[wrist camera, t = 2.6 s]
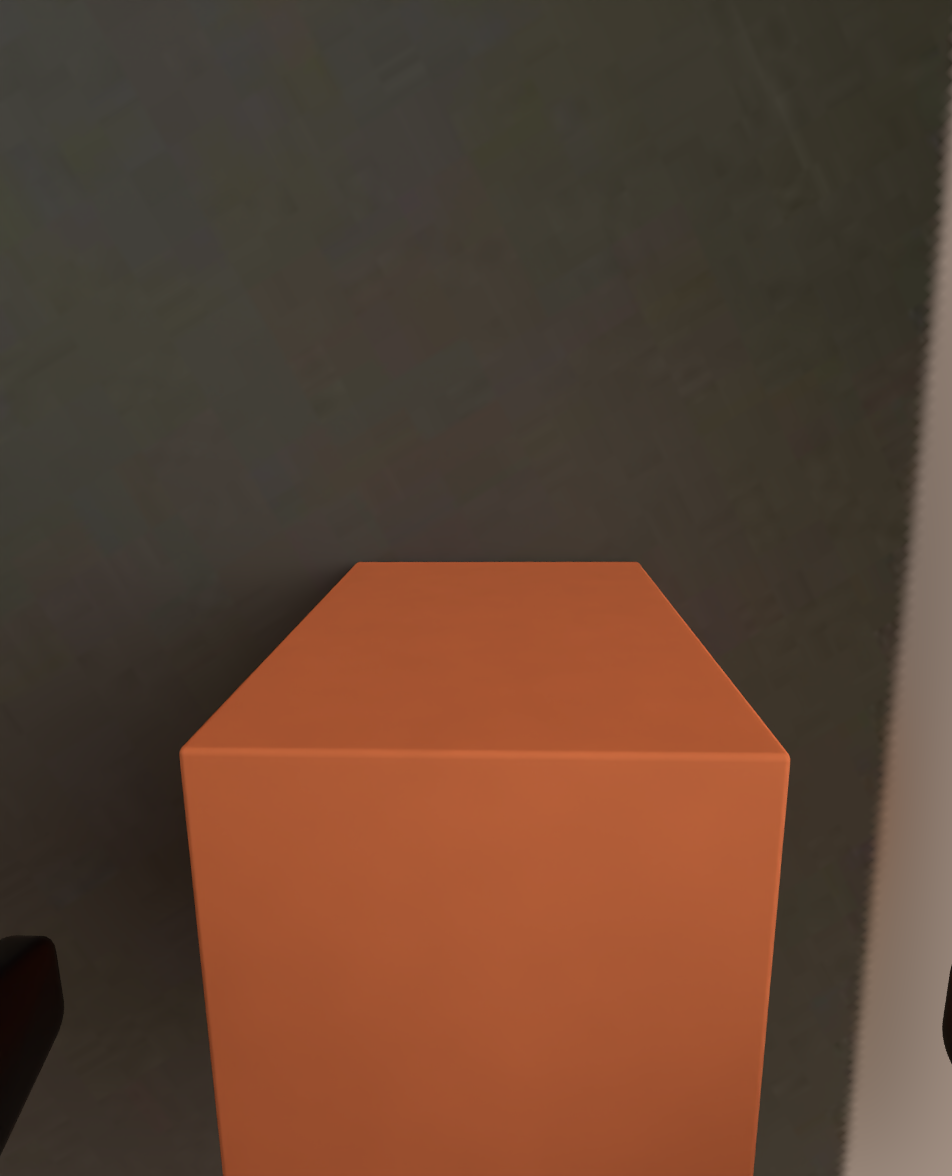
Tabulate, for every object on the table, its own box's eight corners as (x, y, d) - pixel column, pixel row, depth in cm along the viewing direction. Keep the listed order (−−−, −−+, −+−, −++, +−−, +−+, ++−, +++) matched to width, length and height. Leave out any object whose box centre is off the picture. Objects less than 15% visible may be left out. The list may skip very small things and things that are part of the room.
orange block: (625, 906, 14) (736, 1395, 7) (371, 902, 14) (240, 1371, 7) (639, 561, 12) (793, 755, 6) (355, 561, 13) (174, 750, 6)
